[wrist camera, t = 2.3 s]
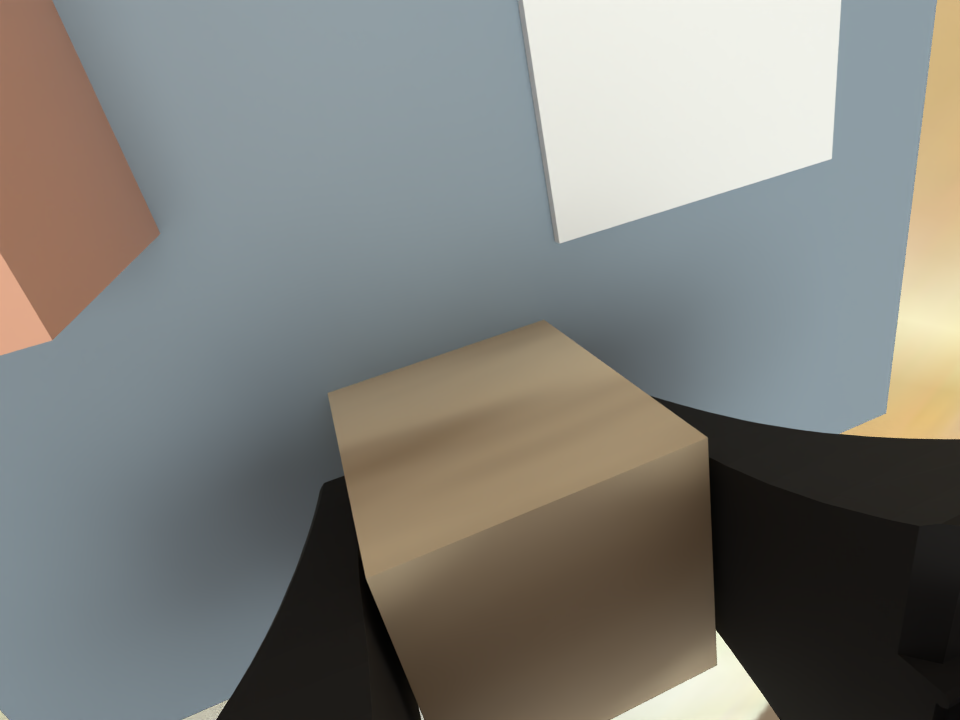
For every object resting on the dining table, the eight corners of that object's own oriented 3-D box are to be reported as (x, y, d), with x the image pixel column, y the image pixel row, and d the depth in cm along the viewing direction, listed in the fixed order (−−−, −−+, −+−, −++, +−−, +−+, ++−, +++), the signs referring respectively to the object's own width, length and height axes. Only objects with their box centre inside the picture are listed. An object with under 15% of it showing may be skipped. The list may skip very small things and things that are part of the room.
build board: (861, 401, 17) (892, 416, 16) (71, 736, 13) (56, 782, 12) (929, -287, 11) (988, -324, 10) (-666, -100, 6) (-829, -138, 5)
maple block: (573, 491, 14) (717, 665, 9) (393, 565, 13) (456, 798, 8) (543, 319, 12) (707, 437, 7) (327, 393, 11) (365, 578, 6)
